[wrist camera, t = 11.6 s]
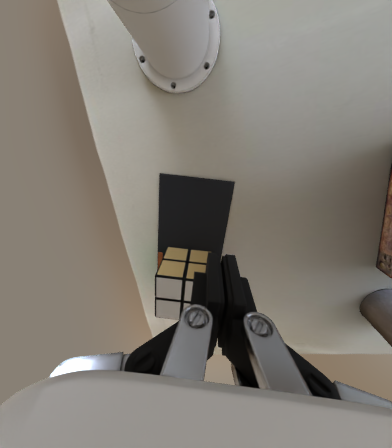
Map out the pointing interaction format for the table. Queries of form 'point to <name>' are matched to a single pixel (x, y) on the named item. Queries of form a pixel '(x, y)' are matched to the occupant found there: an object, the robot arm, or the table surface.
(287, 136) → the table surface
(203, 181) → the mat
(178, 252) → the puzzle cube
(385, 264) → the book
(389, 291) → the pillar candle
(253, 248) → the table surface
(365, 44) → the table surface
